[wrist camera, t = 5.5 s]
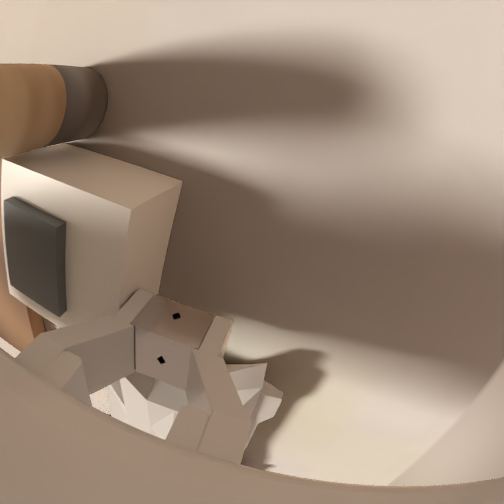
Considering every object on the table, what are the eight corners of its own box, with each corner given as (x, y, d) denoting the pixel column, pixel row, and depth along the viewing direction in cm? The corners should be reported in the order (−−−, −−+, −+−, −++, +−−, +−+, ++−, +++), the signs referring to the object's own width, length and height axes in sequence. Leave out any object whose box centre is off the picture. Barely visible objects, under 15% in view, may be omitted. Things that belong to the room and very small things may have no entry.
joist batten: (-11, 90, 9) (-27, 91, 8) (37, 88, 8) (18, 89, 8) (8, 327, 15) (-1, 336, 14) (51, 355, 15) (41, 366, 14)
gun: (17, 320, 9) (294, 425, 8) (68, 273, 12) (302, 347, 11) (100, 480, 17) (221, 524, 17) (115, 449, 20) (230, 489, 20)
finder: (64, 143, 9) (-8, 161, 6) (182, 181, 9) (121, 215, 6) (56, 259, 11) (2, 298, 8) (155, 308, 11) (110, 368, 8)
